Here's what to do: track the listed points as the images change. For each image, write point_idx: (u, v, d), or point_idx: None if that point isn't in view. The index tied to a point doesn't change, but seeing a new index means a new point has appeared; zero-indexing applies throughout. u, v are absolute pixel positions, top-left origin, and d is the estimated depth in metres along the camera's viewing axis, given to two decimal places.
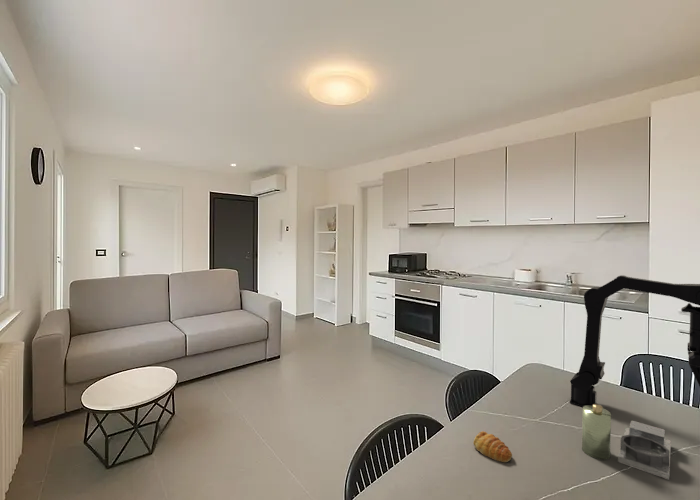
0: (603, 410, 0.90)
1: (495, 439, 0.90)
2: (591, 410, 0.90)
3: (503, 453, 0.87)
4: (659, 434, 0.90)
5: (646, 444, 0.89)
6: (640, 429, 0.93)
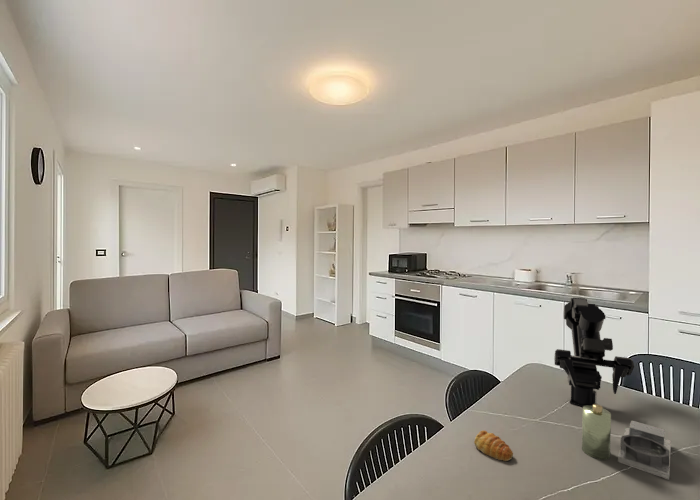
0: (603, 410, 0.90)
1: (496, 438, 0.91)
2: (591, 410, 0.90)
3: (505, 452, 0.87)
4: (659, 434, 0.90)
5: (646, 444, 0.89)
6: (640, 429, 0.93)
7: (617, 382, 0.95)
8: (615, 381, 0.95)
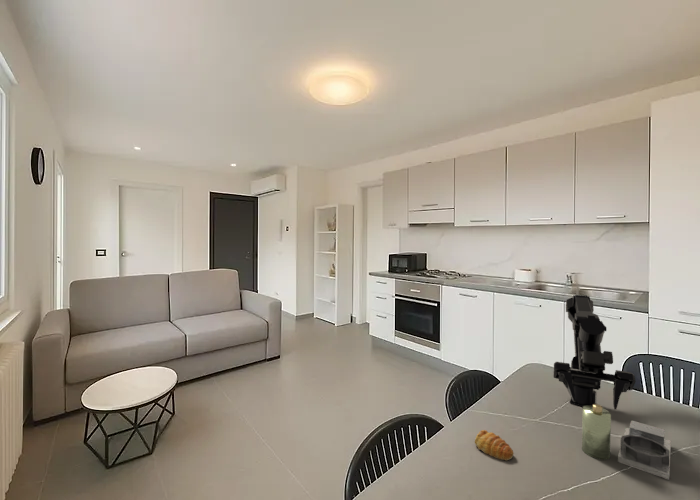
0: (603, 410, 0.90)
1: (496, 437, 0.91)
2: (591, 410, 0.90)
3: (505, 451, 0.87)
4: (659, 434, 0.90)
5: (646, 444, 0.89)
6: (640, 429, 0.93)
7: (617, 397, 0.92)
8: (615, 396, 0.92)
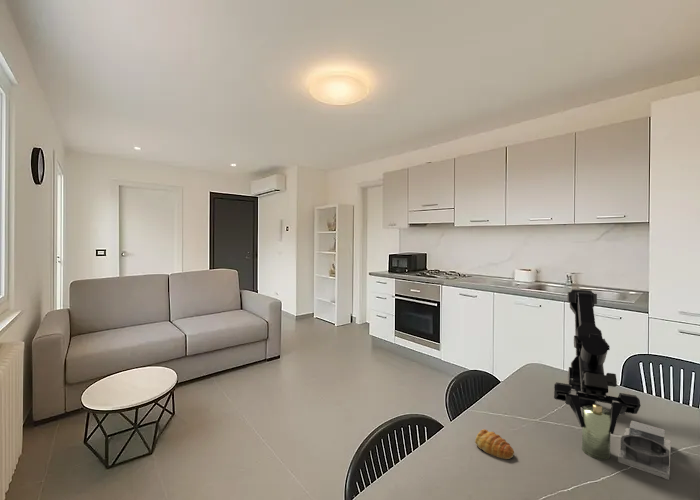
0: (603, 410, 0.90)
1: (497, 436, 0.92)
2: (591, 410, 0.90)
3: (506, 450, 0.88)
4: (659, 434, 0.90)
5: (646, 444, 0.89)
6: (640, 429, 0.93)
7: (614, 421, 0.88)
8: (612, 420, 0.88)
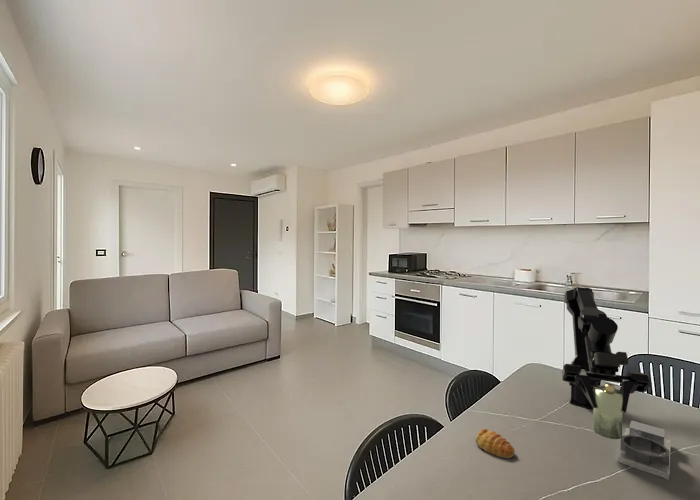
0: (614, 389, 0.89)
1: (497, 436, 0.92)
2: (603, 390, 0.89)
3: (507, 449, 0.88)
4: (659, 434, 0.90)
5: (646, 444, 0.89)
6: (640, 429, 0.93)
7: (626, 399, 0.87)
8: (624, 398, 0.87)
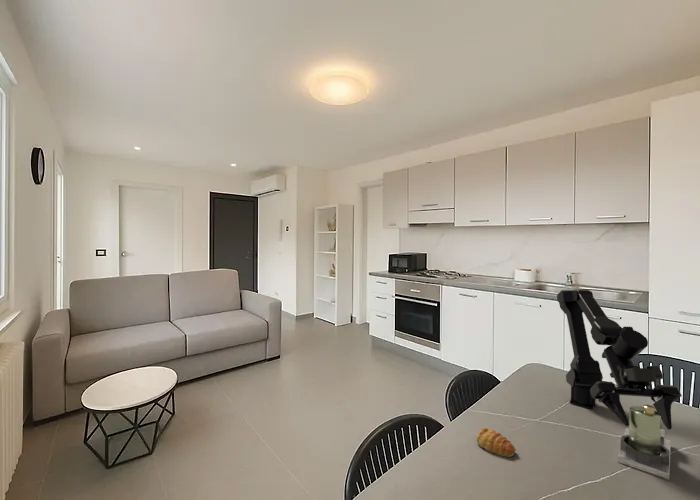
0: None
1: (498, 435, 0.93)
2: (640, 411, 0.86)
3: (508, 448, 0.89)
4: None
5: None
6: None
7: (669, 415, 0.85)
8: (667, 414, 0.85)
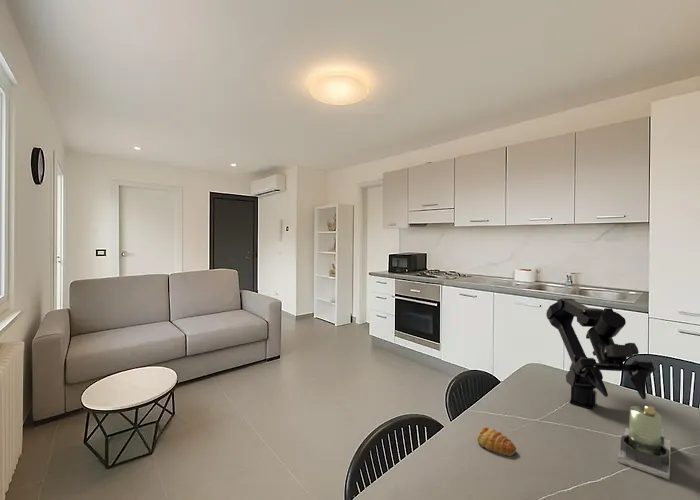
0: None
1: (498, 434, 0.93)
2: (641, 412, 0.86)
3: (509, 447, 0.89)
4: None
5: None
6: None
7: (644, 387, 0.94)
8: (642, 386, 0.94)
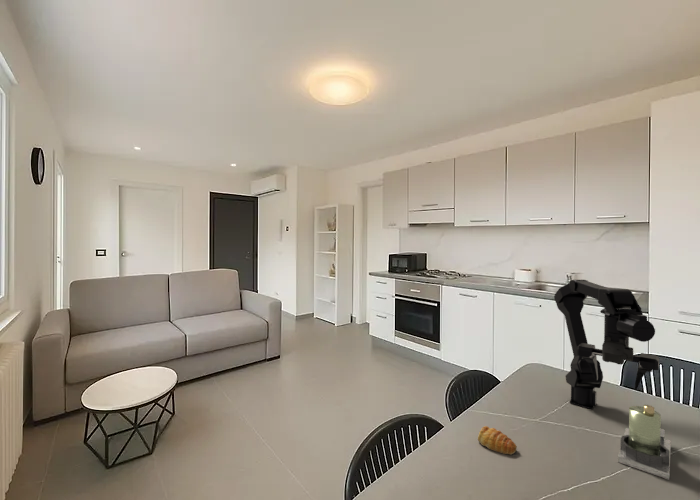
0: None
1: (499, 432, 0.94)
2: (640, 412, 0.86)
3: (509, 445, 0.90)
4: None
5: None
6: None
7: (638, 381, 0.97)
8: (636, 380, 0.97)
